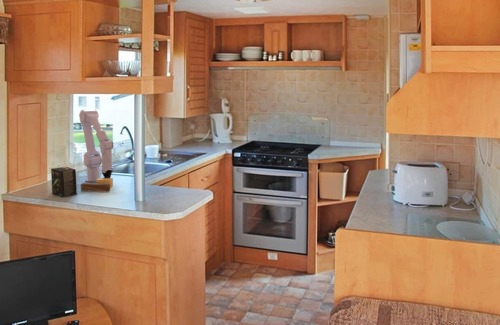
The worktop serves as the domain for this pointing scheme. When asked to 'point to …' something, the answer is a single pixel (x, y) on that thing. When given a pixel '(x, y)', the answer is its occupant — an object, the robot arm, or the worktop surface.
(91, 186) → the brown wooden bar
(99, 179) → the block
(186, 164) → the worktop surface
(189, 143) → the worktop surface
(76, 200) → the worktop surface
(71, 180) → the tampon box
